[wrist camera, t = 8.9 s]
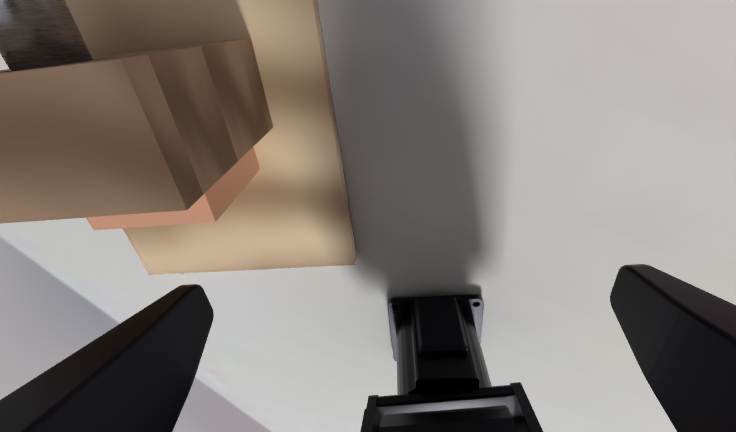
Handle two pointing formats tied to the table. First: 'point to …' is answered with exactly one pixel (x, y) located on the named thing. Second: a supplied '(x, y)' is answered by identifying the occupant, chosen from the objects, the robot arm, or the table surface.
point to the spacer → (201, 210)
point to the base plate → (274, 151)
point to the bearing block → (127, 130)
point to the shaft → (39, 35)
